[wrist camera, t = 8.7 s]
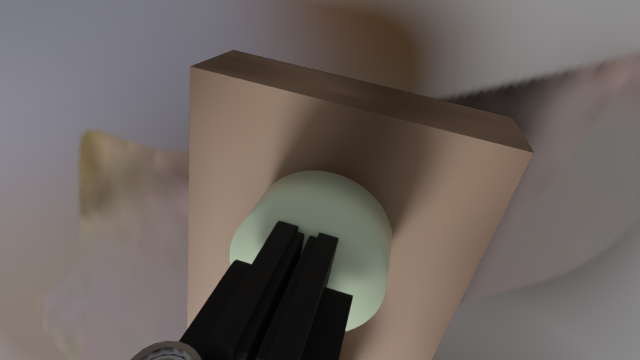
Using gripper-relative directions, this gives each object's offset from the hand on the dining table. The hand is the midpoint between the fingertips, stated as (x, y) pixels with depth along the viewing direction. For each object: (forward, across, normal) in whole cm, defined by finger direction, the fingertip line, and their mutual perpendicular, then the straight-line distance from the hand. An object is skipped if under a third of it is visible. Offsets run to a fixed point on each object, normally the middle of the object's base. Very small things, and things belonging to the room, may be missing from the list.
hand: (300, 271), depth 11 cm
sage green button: (+2, 0, 0) cm, 2 cm away
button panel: (+6, 0, +7) cm, 9 cm away
